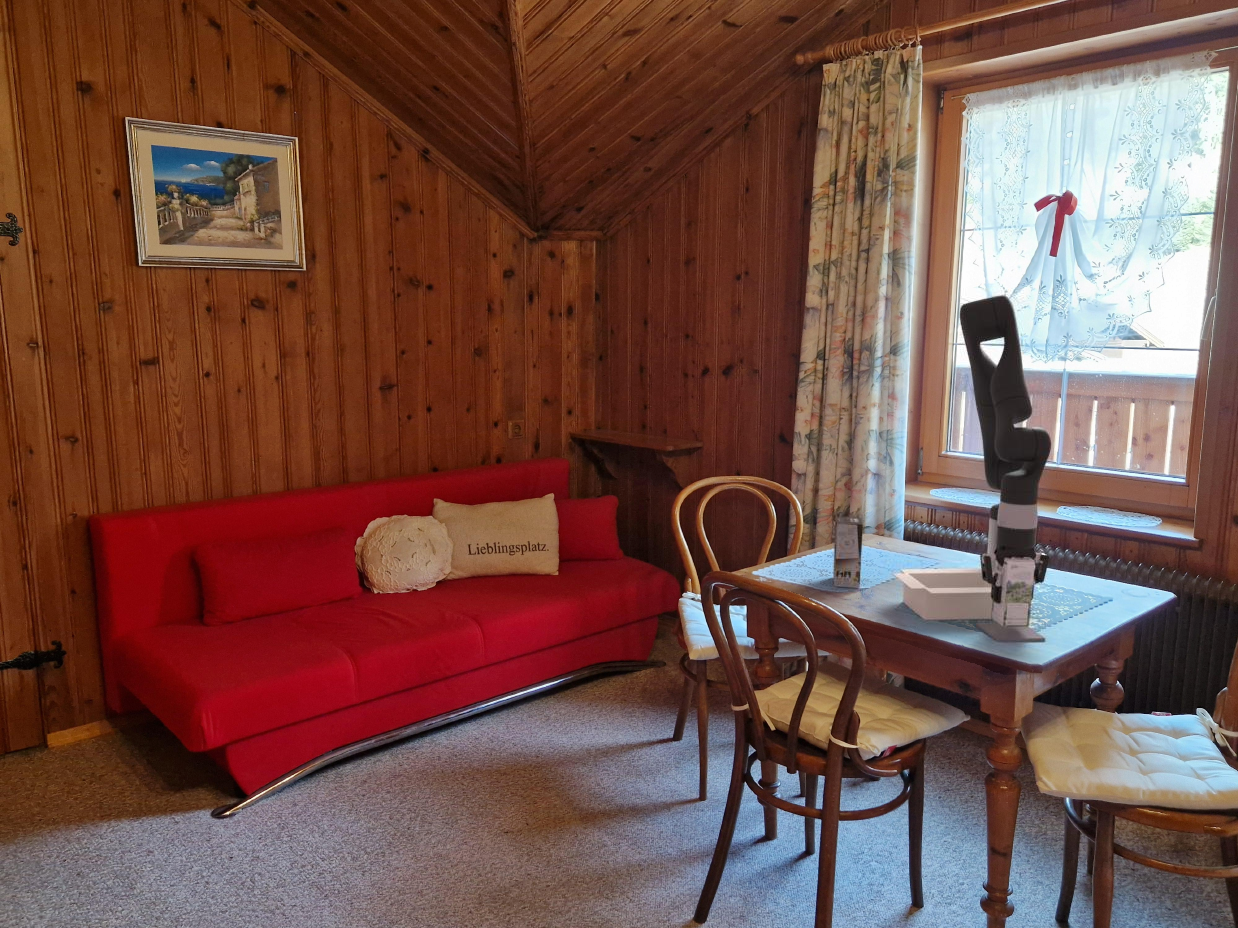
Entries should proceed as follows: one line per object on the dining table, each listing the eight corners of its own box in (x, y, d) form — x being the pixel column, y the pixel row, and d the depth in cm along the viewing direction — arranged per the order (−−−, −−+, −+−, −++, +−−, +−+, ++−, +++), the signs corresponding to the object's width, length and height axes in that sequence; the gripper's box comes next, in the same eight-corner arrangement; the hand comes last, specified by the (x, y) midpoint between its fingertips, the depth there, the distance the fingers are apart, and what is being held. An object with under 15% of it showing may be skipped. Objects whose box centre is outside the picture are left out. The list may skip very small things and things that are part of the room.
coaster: (1021, 624, 197) (1021, 622, 197) (1045, 640, 188) (1045, 637, 187) (976, 625, 197) (976, 622, 197) (997, 641, 187) (997, 638, 187)
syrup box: (1017, 618, 195) (1021, 552, 193) (1030, 627, 189) (1035, 559, 187) (990, 618, 195) (995, 552, 193) (1002, 627, 189) (1007, 559, 187)
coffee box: (860, 588, 224) (863, 524, 222) (833, 587, 226) (836, 523, 223) (858, 578, 233) (861, 516, 231) (832, 577, 235) (835, 515, 232)
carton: (989, 596, 218) (991, 568, 217) (1029, 622, 199) (1032, 591, 198) (885, 598, 217) (887, 569, 215) (916, 624, 198) (917, 593, 196)
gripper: (1041, 519, 193) (1035, 596, 195) (974, 519, 192) (970, 597, 195) (1060, 527, 185) (1054, 607, 188) (991, 527, 185) (985, 608, 187)
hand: (1011, 601), depth 191 cm, fingers closed on syrup box, 5 cm apart
